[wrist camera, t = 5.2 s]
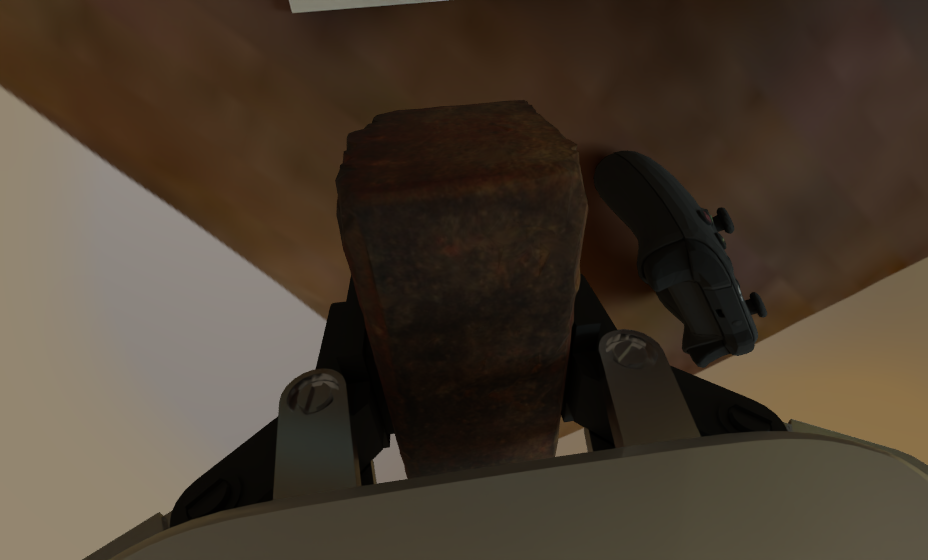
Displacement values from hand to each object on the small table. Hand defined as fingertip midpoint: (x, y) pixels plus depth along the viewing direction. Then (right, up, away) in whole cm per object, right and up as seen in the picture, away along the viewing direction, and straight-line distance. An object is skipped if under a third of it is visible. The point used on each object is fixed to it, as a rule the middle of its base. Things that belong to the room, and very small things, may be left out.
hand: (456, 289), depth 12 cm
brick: (0, 0, 0) cm, 1 cm away
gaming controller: (+13, +4, +17) cm, 22 cm away
